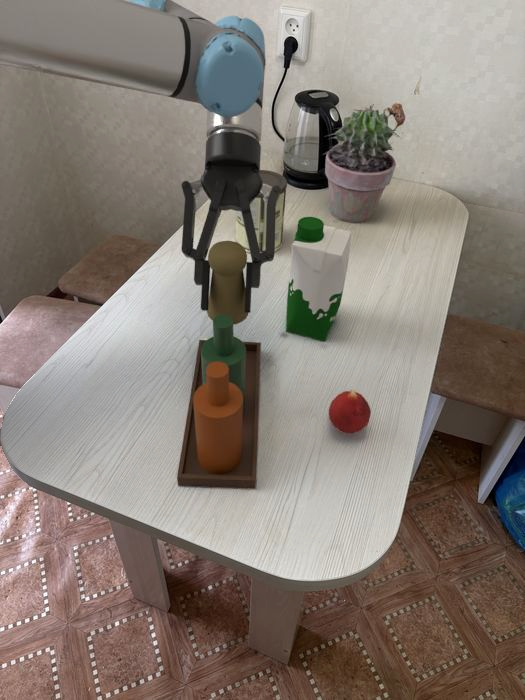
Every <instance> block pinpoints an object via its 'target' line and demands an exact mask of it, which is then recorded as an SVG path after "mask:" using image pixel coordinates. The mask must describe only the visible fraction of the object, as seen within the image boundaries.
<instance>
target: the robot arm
mask: <svg viewBox="0 0 525 700" xmlns="http://www.w3.org/2000/svg"><path fill="white" fill-rule="evenodd" d="M265 45H266V44H265V35H264V32H263V30H262V28H261V27H260V26H259V24H258V23H256V22H255V21H253V20H252V19H251V18H249V17H244V18H242V17H241V18H240V17H239V16H238V15H228V16H224V17H221V18H220V19H218V20H217V21H216V22H215V23H214V22H212V21H210V20H208V19H206V18H204V17H203V16H200V14H197V13H195V12H194V11H191V10H189V9H188V8H186V7H184V6H183V5H181V4H179V3H177V2H175V1H174V0H129V1H128V0H0V65H2V66H7V67H8V66H9V67H13V68H17V69H23V70H28V71H34V72H39V73H44V74H49V75H54V76H59V77H65V78H70V79H76V80H80V81H84V82H91V83H96V84H100V85H107V86H111V87H116V88H122V89H126V90H133V91H138V92H141V93H142V92H143V93H147V94H153V95H158V96H162V97H169V98H173V99H176V100H182V101H186V102H190V103H196V104H200V105H201V106H202V107H203V108H204V109H205V110H207V112H206V113H207V115H206V138H207V139H206V142H205V153H204V154H205V157H204V170H203V173H202V175H201V176H200V179H199V180H195V181H192V182H190V181H188V180H184V181H182V182H181V189H182V193H183V196H184V206H183V207H184V209H183V221H182V234H181V235H182V237H181V252H182V254H183V255H184V257H185V258H189V259H191V260H193V261H194V271H193V281H194V284H195V285H196V286H201V291H200V292H201V294H200V310H201V311H204V312H205V311H206V312H207V311H208V304H209V294H210V284H211V279H210V278H211V267H210V265H209V262H208V259H207V257H208V254H209V250H210V248H211V247H210V246H211V243H212V240H213V237H214V234H215V231H216V227H217V224H218V222H219V218H220V216H221V214H222V212H223V211H225V212H226V211H229V210H230V211H231V210H232V211H235V212H236V211H241V214H242V218H243V222H244V227H245V231H246V236H247V240H248V245H249V249H250V253H249V254H250V259H251V261H247V263H246V266H245V268H246V269H245V310H244V311H245V312H246V313H248V314H249V313H251V306H252V305H251V304H252V289H259V288H260V285H261V270H262V269H261V268H262V265H263V264H265V263H268V262H272V261H274V259H275V253H276V251H275V215H276V205H277V202H278V200H279V197H280V190H281V189H280V187H279V186H273V187H272V186H269V185H266V184H264V183H263V181H262V178H261V176H260V170H261V154H262V153H261V151H262V146H261V143H260V142H261V141H262V131H263V130H262V129H263V105H264V104H263V101H264V87H265V71H266V70H265V69H266V61H267V59H266V46H265ZM202 190H203V192H204V193H205V194H206V196H207V197H208V199H209V200H210V203H209V207H208V212H207V215H206V218H205V221H204V224H203V227H202V230H201V232H200V233H201V234H200V236H199V240H198V242H197V246H196V248H194V241H195V240H194V239H195V227H196V226H195V225H196V211H197V203H196V200H197V199H199V198H200V194H201V193H200V192H201V191H202ZM260 192H261V193H262V194H263V200H264V201H265V202H266V203H267V210H266V249H265V251H264V252H261V253H260V250H259V245H258V241H257V236H256V232H255V227H254V223H253V218H252V214H251V208H250V204H251V203H252V202H253V200H254V199H255V198H256V197H257V195H258V194H259V193H260Z"/></svg>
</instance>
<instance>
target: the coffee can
mask: <svg viewBox="0 0 525 700" xmlns="http://www.w3.org/2000/svg"><path fill="white" fill-rule="evenodd" d="M260 176H261V178H262V181H263V183H264V184H266V185H269V186H272V187H273V186H279V187H280V189H281V190H280V197H279V200H278V202H277V205H276V215H275V252H278V251H279V250H280V249H281V248H282V246H283V234H284V221H285V210H286V209H285V208H286V197H287V187H288V180H287V179H286V177H285V176H284V175H282V174H280V173H278V172H276V171H272V170H267V169H260ZM250 208H251V214H252V218H253V223H254V227H255V232H256V236H257V241H258V245H259V250H260V253H261V252H264V251H265V249H266V210H267V203H266V202H265V201H264V200H263V194H262V193H261V192H260V193H259V194H258V195H257V197H256V198H255V199H254V200H253V202H252V203H251V204H250ZM235 227H236V228H235V242H237V243H239V244H241V245H242V246H243V247H244V249H245V251H246V253H248V254H250V249H249V245H248V240H247V236H246V231H245V227H244V222H243V218H242V214H241V211H235Z"/></svg>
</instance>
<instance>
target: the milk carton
mask: <svg viewBox="0 0 525 700" xmlns="http://www.w3.org/2000/svg"><path fill="white" fill-rule="evenodd" d="M296 228H297V229H296V232H295V235H294V239H293V240H292V244H291V251H290V252H291V253H290V254H291V255H290V266H289V274H288V275H289V276H288V288H287V296H286V297H287V298H286V321H285V332H286V333H289V334H292V335H293V334H294V335H297V336H301V337H305V338H310V339H313V340H318V341H321V342H326V340H327V338H328V335H329V333H330V331H331V328H332V326H333V324H334V322H335V319H336V318H337V315H338V312H339V309H340V308H341V307H340V306H341V303H342V297H343V292H344V287H345V283H346V278H347V277H346V276H347V271H348V266H349V259H350V251H351V249H350V248H351V241H352V231H350V230H345V229H341V228H337V227H336V226H332V225H325V223H324V221H322V219H320V218H318V217H316V216H315V217H314V216H304V217H301V218H299V219H298V221H297V227H296Z"/></svg>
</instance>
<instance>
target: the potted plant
mask: <svg viewBox="0 0 525 700" xmlns="http://www.w3.org/2000/svg"><path fill="white" fill-rule="evenodd" d="M373 107H374V103H372V104H371V105H370V106H369V108H368V107H365V109H354V108H353V111H352V112H351V115H350V116H347V117H343V122H342V124H343V125H342V127H336V128H334V130H337V131H335V132H334V133H331V134H328V135H327V137H329V136H333V135H335V136H333V137H330V138H328V140H331V139H334V140H336V141H337V144H335V145H331V148H330V150H328V151H326V152H324V153H322V156H324V155H326V156H325V164H324V167H325V168H324V174H325V176H326V178H327V181H328V182H327V183H328V184H327V185H328V195H329V197H328V198H329V207H330V211H331V215H332V216H333V217H334V218H335V219H338V220H340V221H343V222H349V223H352V224H353V223H354V224H355V223H356V224H357V223H363V222H366V221H368V220H370V219H372V218H371V217H372V215H373V214H374V211H375V210H376V207H377V205H378V203H379V202H380V199H381V197H382V195H383V193H384V190H385V189H386V187H387V186H389V185H390V184H391V181H392V179H393V175H394V172H395V169H396V167H397V163H396V160H395V158H394V157H393V156H392V154H390V153H389V152H387V151H394V150H393V147H392V146H391V145H392V144H393V142H394V141H392V142H391V143H390V142H389V139H391V138H392V136H395V137H396V138H400V139H402V137H400V135H398V134H397V133H396V130H397V128H398V127H401V126H402V125H404V122H405V120H406V114H405V112H404V109H403V104H401V103H397V102H395V103H392V105H391V107H386V108H385V109H384V110H383V112H382V113H380V110H379V109H376V110H374V109H373ZM355 111H356V112H355ZM386 113H388V115H386ZM391 115H392V117H393V118H394V120H395V124H396V125H395V127H394V129H393V128H391V127H390V126H389V117H390V116H391ZM327 130H331V128H329V129H328V128H327ZM323 137H324V138H325V137H326V135H325V136H323ZM316 155H318V153H317V154H315V156H316Z"/></svg>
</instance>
